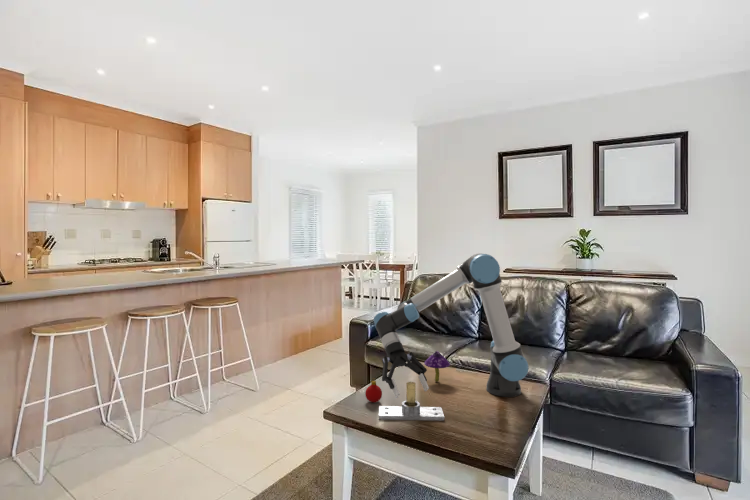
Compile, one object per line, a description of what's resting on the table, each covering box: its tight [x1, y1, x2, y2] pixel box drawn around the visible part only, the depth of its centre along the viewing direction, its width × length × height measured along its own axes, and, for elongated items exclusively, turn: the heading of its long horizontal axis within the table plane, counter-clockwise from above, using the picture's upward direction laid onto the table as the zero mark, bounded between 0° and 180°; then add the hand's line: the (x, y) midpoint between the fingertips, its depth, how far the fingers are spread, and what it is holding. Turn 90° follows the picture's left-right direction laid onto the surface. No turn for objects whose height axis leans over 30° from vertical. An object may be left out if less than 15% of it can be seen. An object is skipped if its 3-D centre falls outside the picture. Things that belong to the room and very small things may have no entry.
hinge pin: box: [405, 381, 417, 406], centre depth 159 cm, size 4×4×11 cm
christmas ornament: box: [364, 378, 383, 403], centre depth 171 cm, size 7×7×10 cm
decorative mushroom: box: [423, 350, 451, 383], centre depth 197 cm, size 12×12×15 cm
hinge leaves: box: [378, 400, 445, 422], centre depth 159 cm, size 25×9×4 cm, turn 88°
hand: (412, 392), depth 157 cm, fingers open, 13 cm apart
